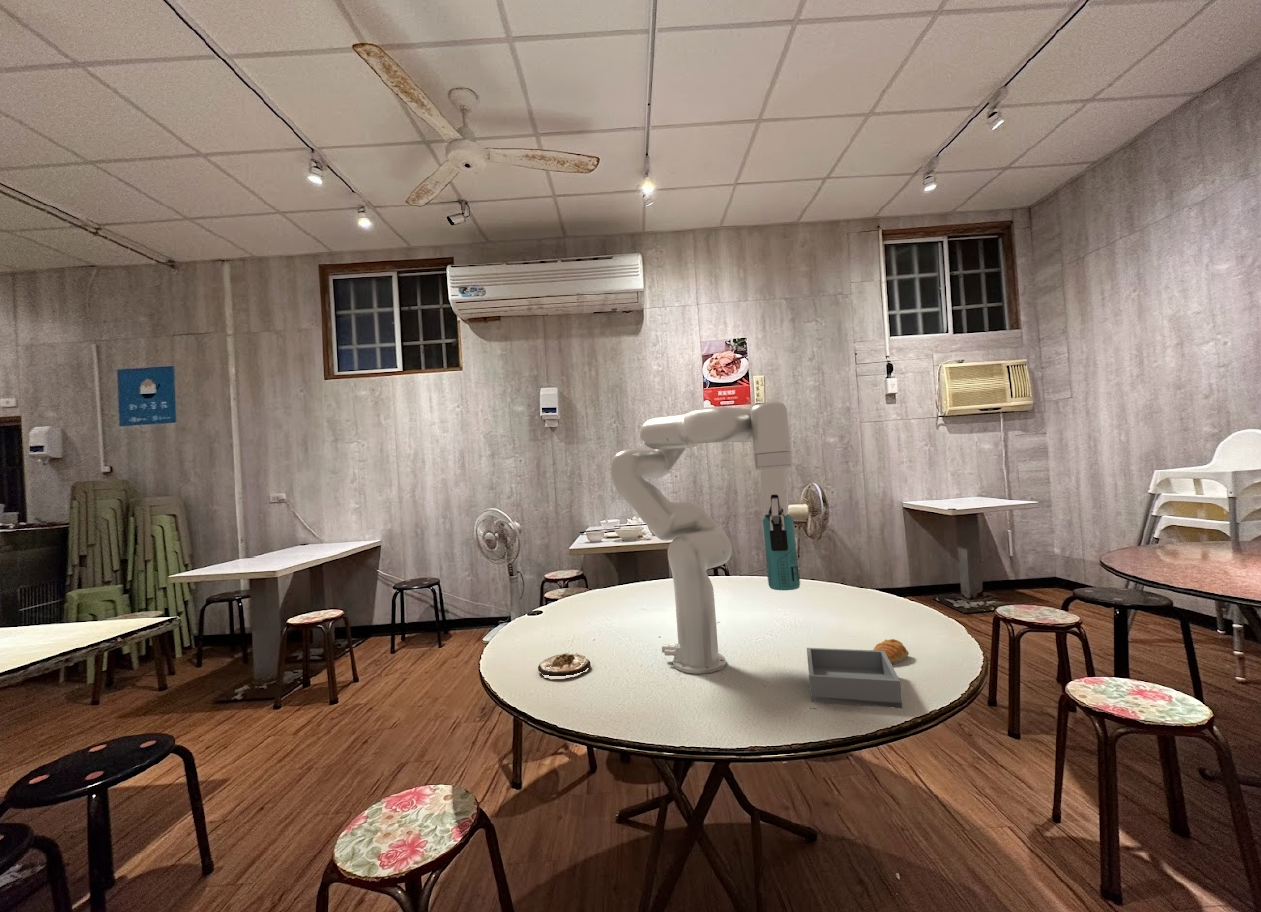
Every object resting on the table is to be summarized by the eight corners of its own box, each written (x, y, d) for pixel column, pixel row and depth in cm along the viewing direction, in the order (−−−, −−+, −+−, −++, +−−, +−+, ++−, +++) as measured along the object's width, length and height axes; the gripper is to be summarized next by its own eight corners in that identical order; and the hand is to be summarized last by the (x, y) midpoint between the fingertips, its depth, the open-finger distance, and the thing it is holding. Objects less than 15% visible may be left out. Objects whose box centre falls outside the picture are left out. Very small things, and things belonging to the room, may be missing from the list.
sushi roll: (549, 690, 111) (548, 671, 112) (525, 671, 124) (524, 654, 124) (605, 672, 119) (604, 655, 120) (578, 656, 132) (577, 640, 132)
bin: (811, 701, 97) (809, 676, 97) (808, 669, 112) (806, 647, 112) (902, 708, 92) (900, 681, 92) (886, 674, 107) (884, 650, 107)
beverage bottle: (796, 599, 97) (787, 497, 98) (763, 596, 101) (755, 499, 102) (805, 591, 103) (796, 495, 104) (773, 589, 107) (765, 497, 108)
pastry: (896, 669, 110) (894, 652, 110) (865, 663, 115) (863, 646, 115) (910, 657, 116) (909, 640, 116) (880, 651, 121) (879, 635, 121)
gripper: (758, 463, 113) (765, 542, 112) (750, 463, 97) (758, 555, 96) (792, 461, 110) (800, 541, 109) (790, 459, 94) (799, 554, 93)
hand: (780, 547), depth 102 cm, fingers closed on beverage bottle, 6 cm apart
